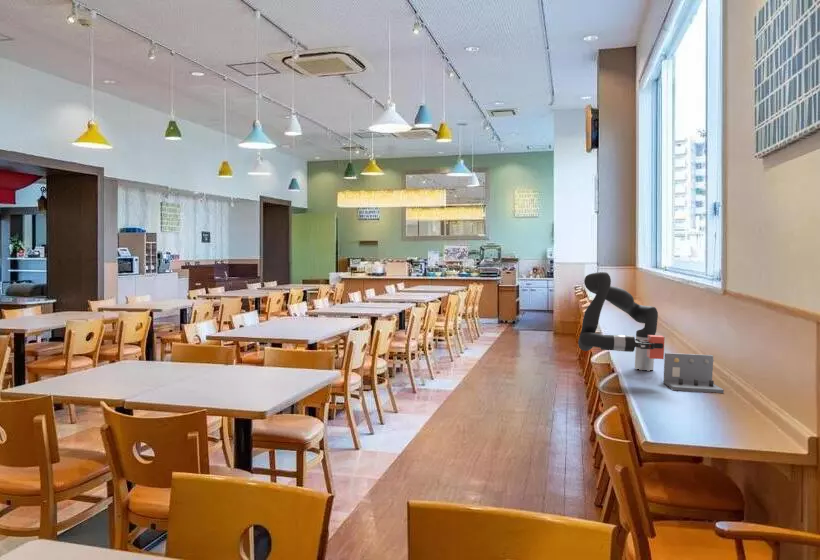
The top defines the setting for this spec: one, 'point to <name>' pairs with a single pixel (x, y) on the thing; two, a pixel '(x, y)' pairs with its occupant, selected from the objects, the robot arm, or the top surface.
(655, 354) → the tall coral upright block
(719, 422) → the top surface
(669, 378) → the grey peg stand
